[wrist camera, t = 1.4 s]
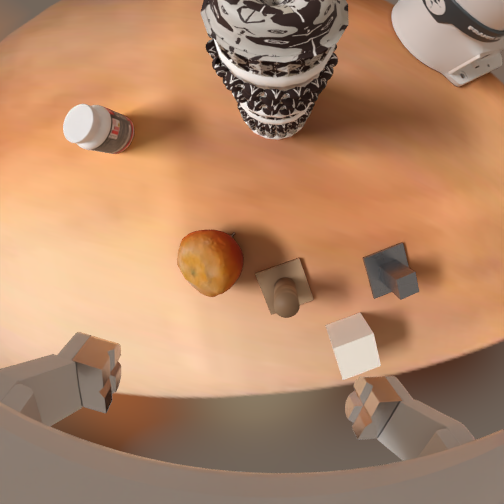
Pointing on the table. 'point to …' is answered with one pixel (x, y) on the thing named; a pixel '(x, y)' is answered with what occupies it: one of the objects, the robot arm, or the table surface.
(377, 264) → the grey square post stand
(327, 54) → the black white cylinder
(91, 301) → the table surface
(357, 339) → the white rectangular block
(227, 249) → the fruit
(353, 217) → the table surface
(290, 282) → the knob on square plate
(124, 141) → the pill bottle
